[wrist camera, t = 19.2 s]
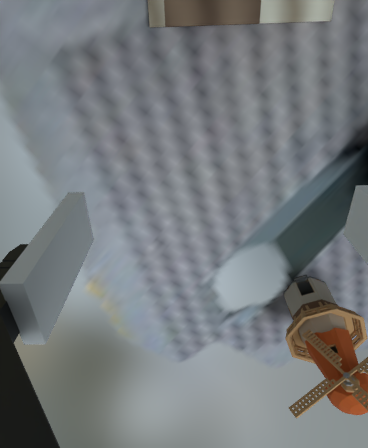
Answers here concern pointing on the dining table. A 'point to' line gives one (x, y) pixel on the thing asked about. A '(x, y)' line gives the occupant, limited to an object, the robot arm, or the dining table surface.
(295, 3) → the board
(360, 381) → the windmill
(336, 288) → the dining table surface
